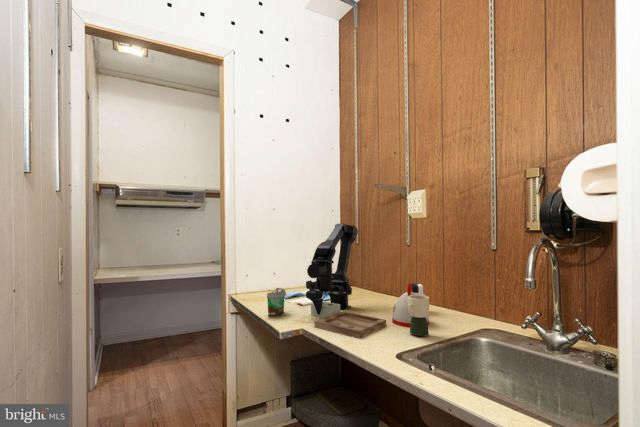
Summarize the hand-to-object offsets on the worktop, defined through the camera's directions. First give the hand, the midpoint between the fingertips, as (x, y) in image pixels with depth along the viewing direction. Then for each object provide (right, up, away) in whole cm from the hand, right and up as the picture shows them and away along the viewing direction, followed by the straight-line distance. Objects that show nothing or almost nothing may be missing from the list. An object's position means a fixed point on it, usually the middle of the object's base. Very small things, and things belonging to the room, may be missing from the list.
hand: (325, 312), depth 143 cm
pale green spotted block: (0, -2, 0) cm, 2 cm away
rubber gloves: (-8, -3, +37) cm, 38 cm away
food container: (-20, -2, +3) cm, 20 cm away
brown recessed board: (+9, -1, -16) cm, 18 cm away
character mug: (+32, 0, -26) cm, 41 cm away
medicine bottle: (+39, -1, +4) cm, 40 cm away
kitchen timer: (+33, -1, -11) cm, 35 cm away
